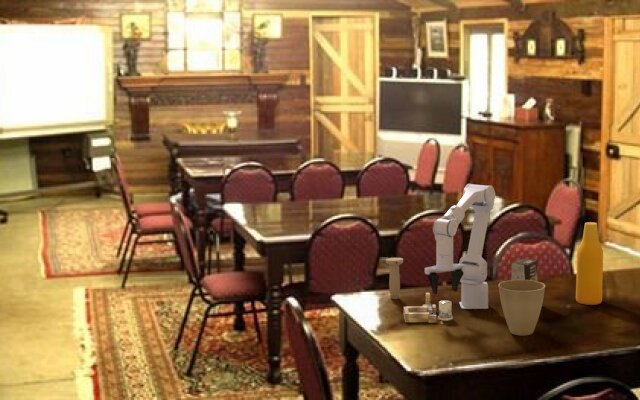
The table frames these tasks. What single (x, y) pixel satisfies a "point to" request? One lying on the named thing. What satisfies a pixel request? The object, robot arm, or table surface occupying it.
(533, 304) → the plant pot
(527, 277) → the coffee box
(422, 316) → the dock
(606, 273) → the table surface
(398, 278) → the handle
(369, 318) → the table surface
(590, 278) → the beer bottle
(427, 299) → the pin
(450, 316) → the silver metal cylinder
